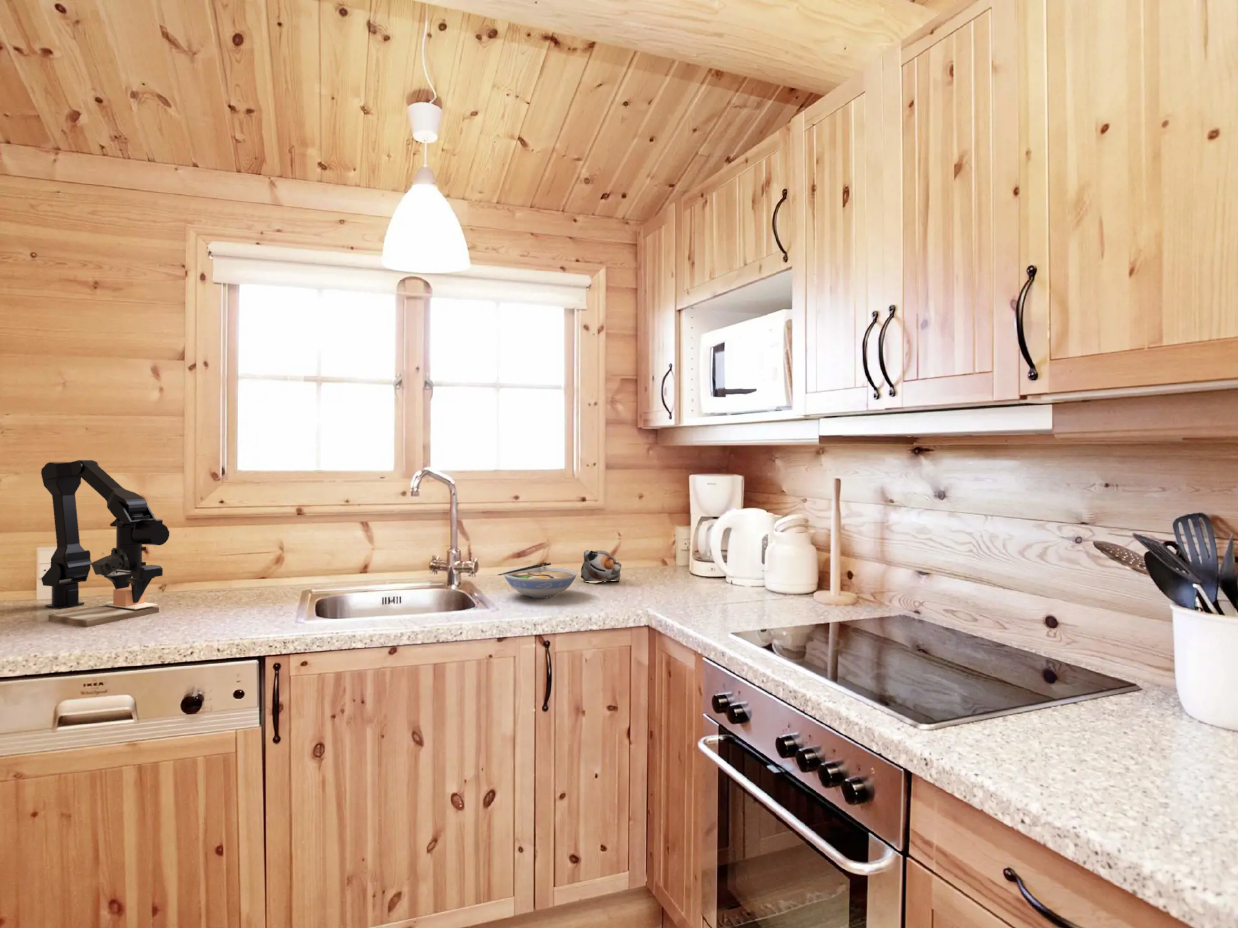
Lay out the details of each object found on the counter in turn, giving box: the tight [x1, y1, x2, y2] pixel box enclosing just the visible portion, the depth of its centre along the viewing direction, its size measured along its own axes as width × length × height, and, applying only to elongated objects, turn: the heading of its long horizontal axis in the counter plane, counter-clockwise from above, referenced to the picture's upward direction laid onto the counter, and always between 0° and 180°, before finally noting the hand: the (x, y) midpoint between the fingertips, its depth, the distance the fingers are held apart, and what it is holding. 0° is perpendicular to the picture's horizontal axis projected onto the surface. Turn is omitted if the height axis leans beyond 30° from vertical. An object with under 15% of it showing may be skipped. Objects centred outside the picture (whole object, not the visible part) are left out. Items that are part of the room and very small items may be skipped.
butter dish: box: [100, 586, 159, 609], centre depth 189 cm, size 14×6×4 cm, turn 68°
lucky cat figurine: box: [580, 549, 622, 581], centre depth 242 cm, size 15×12×14 cm
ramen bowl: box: [497, 562, 578, 599], centre depth 218 cm, size 25×23×8 cm
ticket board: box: [48, 605, 160, 628], centre depth 184 cm, size 15×18×2 cm
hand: (129, 601), depth 189 cm, fingers closed on butter dish, 5 cm apart
